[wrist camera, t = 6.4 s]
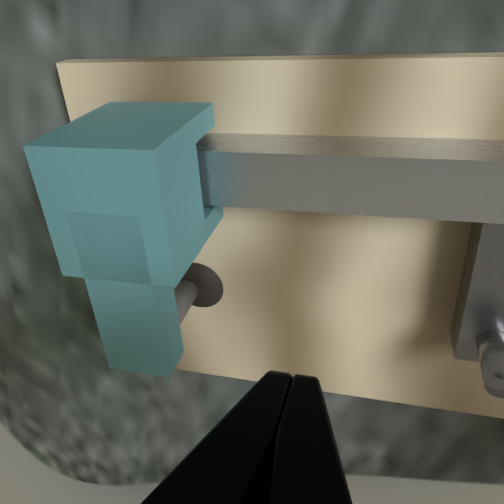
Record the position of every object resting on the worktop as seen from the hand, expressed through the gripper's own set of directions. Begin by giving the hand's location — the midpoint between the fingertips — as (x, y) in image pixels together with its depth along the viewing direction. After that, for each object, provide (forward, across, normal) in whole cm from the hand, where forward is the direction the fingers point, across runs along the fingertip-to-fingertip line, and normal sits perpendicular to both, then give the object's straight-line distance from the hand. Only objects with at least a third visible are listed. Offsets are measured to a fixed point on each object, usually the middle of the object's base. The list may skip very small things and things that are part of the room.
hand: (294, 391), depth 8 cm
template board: (+12, +1, +4) cm, 12 cm away
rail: (+12, +1, 0) cm, 12 cm away
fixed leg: (+11, -6, +4) cm, 13 cm away
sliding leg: (+10, +7, +2) cm, 13 cm away
